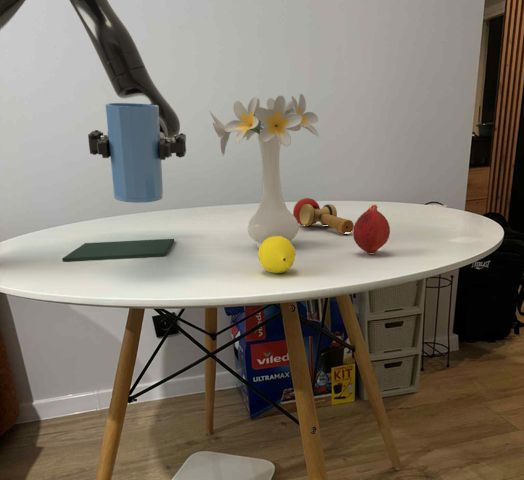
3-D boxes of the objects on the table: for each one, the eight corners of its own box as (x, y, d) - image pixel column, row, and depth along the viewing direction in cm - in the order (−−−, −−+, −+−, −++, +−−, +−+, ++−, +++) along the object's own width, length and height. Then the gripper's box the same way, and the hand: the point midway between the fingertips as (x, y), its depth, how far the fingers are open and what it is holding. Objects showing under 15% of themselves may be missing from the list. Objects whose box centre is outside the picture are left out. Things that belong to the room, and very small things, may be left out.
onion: (369, 260, 79) (371, 207, 76) (345, 254, 84) (346, 204, 81) (395, 254, 82) (399, 204, 79) (371, 249, 86) (373, 201, 83)
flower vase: (215, 245, 96) (203, 99, 86) (307, 237, 99) (305, 96, 90) (227, 259, 84) (215, 92, 74) (331, 249, 88) (332, 89, 78)
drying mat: (62, 261, 88) (62, 258, 88) (85, 246, 101) (85, 243, 101) (164, 256, 89) (164, 252, 88) (174, 241, 101) (174, 238, 101)
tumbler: (107, 201, 69) (97, 104, 63) (122, 191, 75) (114, 102, 69) (156, 204, 69) (150, 107, 63) (167, 193, 75) (163, 104, 69)
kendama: (364, 238, 102) (315, 216, 116) (364, 208, 98) (313, 189, 112) (333, 250, 100) (286, 226, 113) (332, 219, 96) (283, 199, 110)
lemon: (254, 269, 77) (252, 233, 75) (288, 265, 78) (287, 230, 76) (265, 280, 70) (264, 242, 68) (302, 276, 72) (301, 238, 70)
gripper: (95, 108, 79) (73, 117, 64) (188, 112, 80) (186, 122, 66) (100, 159, 82) (81, 178, 68) (189, 162, 84) (188, 181, 70)
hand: (133, 150), depth 67 cm, fingers closed on tumbler, 7 cm apart
